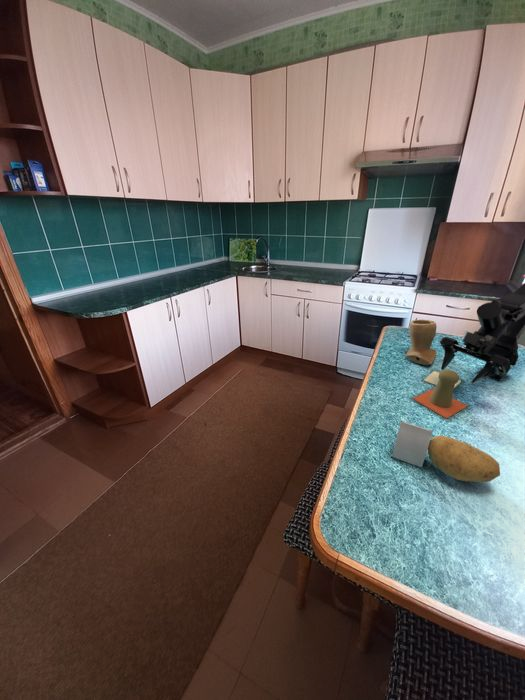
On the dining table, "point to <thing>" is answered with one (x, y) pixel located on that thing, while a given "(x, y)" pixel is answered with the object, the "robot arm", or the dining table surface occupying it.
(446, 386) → the cork
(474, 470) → the potato
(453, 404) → the terracotta mat
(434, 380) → the cream mat
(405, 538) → the dining table surface
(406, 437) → the grey rectangular block
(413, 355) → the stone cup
